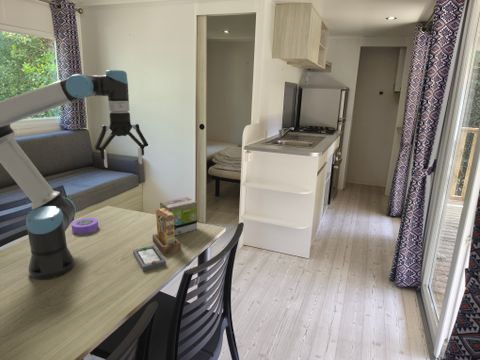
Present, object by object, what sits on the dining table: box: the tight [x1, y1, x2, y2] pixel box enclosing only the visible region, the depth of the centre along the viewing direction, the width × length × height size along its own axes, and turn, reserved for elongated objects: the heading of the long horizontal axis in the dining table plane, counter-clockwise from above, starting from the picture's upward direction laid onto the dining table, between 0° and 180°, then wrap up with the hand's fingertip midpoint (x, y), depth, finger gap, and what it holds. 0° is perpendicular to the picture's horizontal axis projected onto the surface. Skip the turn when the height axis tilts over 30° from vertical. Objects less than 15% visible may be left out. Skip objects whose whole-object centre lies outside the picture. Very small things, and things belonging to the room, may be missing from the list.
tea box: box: [159, 196, 198, 236], centre depth 161 cm, size 15×10×15 cm, turn 129°
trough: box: [152, 233, 182, 256], centre depth 146 cm, size 8×14×4 cm, turn 31°
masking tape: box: [70, 217, 99, 235], centre depth 161 cm, size 12×12×4 cm
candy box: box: [155, 208, 176, 246], centre depth 144 cm, size 9×4×15 cm, turn 41°
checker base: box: [132, 244, 167, 272], centre depth 135 cm, size 9×15×3 cm, turn 31°
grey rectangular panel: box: [138, 249, 160, 264], centre depth 135 cm, size 6×11×1 cm, turn 31°
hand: (123, 165), depth 135 cm, fingers open, 13 cm apart
